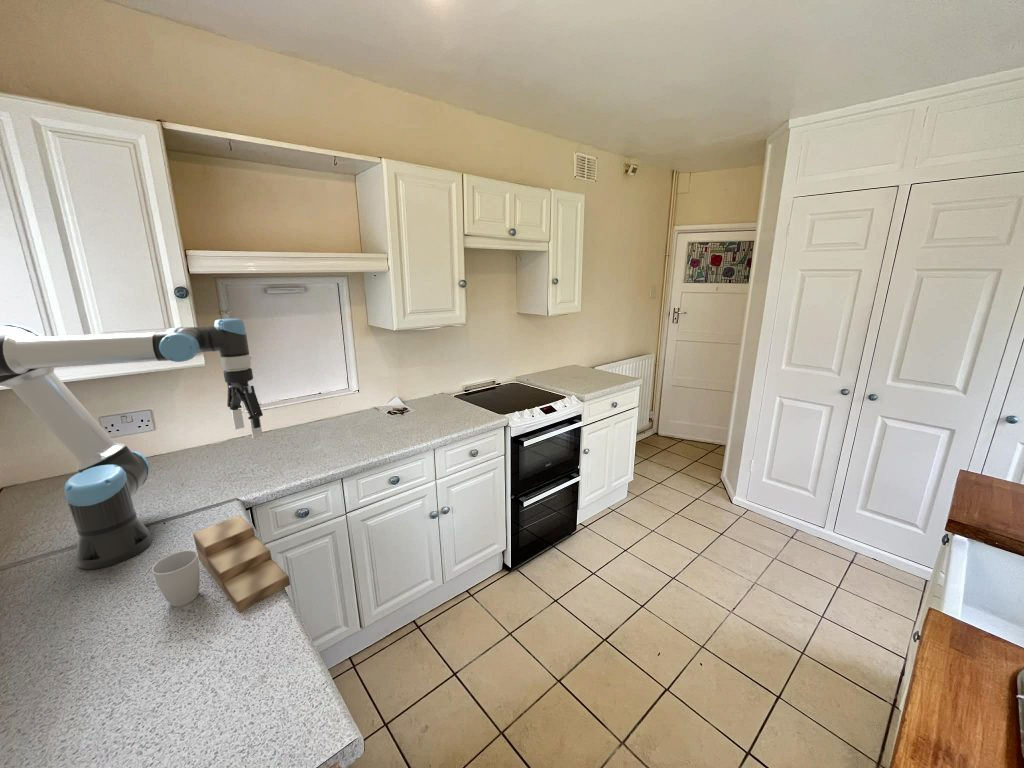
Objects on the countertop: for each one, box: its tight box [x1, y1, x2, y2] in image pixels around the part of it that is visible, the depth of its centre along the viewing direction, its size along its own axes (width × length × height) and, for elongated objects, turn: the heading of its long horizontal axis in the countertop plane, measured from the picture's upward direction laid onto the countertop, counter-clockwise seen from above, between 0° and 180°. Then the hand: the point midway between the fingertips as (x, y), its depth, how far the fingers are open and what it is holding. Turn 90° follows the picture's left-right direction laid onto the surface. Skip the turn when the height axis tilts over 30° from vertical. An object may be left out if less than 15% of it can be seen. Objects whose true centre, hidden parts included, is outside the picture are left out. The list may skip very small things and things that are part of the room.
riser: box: [192, 514, 291, 613], centre depth 105 cm, size 11×30×8 cm, turn 50°
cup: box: [151, 549, 201, 608], centre depth 96 cm, size 8×8×10 cm
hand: (248, 432), depth 135 cm, fingers open, 13 cm apart
